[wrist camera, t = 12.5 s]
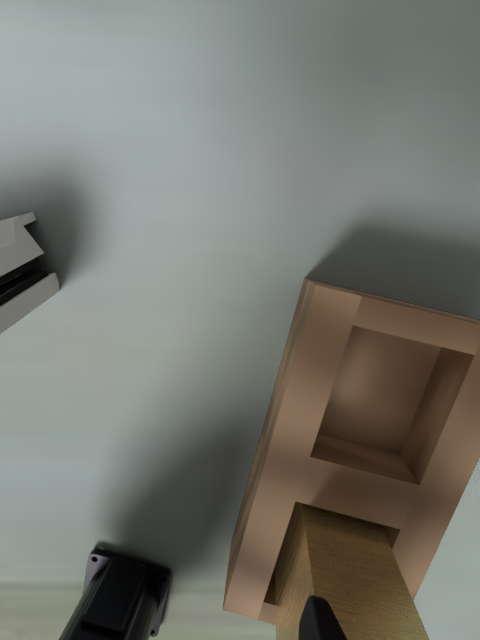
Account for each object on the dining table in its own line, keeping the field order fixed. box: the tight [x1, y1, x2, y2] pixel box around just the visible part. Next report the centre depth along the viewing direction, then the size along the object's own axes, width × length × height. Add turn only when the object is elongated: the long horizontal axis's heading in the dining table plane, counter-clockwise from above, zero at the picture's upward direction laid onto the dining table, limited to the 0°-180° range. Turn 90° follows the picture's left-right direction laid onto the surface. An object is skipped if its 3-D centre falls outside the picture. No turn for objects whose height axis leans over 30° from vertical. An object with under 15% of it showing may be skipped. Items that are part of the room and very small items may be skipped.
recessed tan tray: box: [223, 278, 480, 625], centre depth 18 cm, size 20×10×4 cm, turn 167°
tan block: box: [275, 502, 429, 640], centre depth 15 cm, size 6×4×9 cm
